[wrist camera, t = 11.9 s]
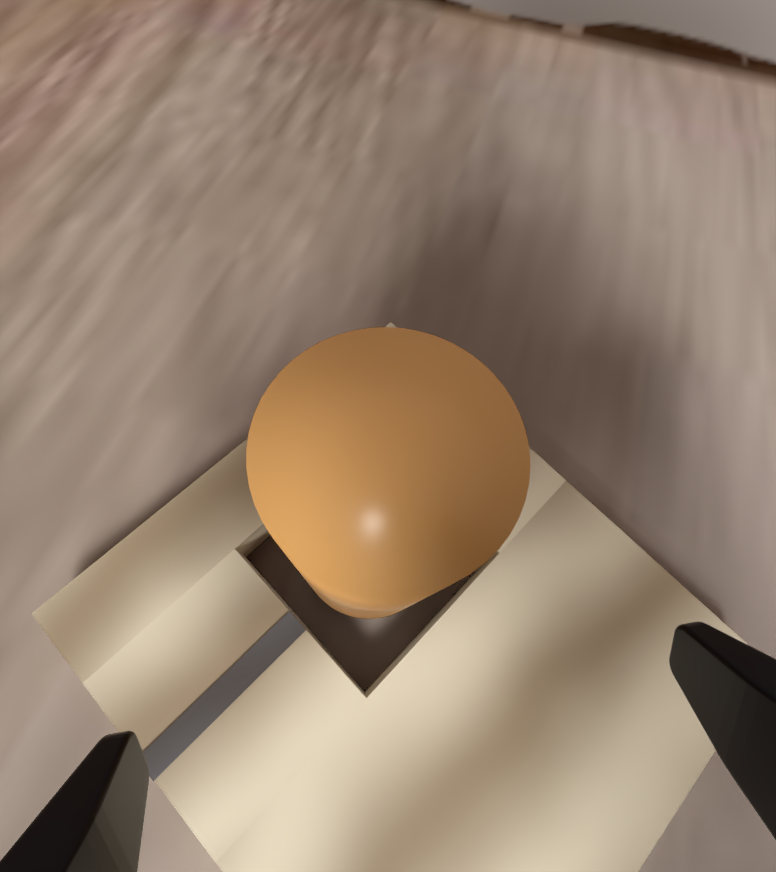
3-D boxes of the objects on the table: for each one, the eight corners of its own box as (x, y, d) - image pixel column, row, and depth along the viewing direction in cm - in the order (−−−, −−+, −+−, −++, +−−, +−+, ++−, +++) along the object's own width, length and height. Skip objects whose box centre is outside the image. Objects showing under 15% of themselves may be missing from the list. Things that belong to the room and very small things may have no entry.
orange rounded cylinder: (435, 518, 20) (546, 362, 9) (410, 634, 19) (508, 631, 7) (326, 490, 21) (295, 300, 9) (293, 604, 19) (203, 553, 7)
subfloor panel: (729, 662, 19) (772, 665, 17) (433, 1104, 15) (446, 1176, 13) (387, 347, 23) (391, 320, 21) (63, 615, 18) (29, 613, 16)
